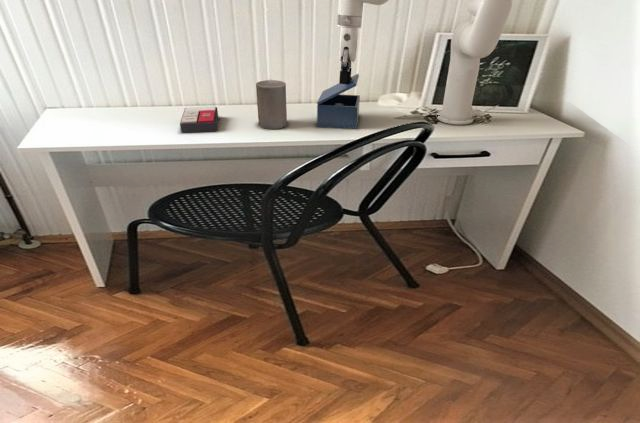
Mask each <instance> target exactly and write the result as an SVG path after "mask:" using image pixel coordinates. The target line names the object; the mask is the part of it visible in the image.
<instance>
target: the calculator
mask: <svg viewBox="0 0 640 423" xmlns="http://www.w3.org/2000/svg"><path fill="white" fill-rule="evenodd" d="M218 121H219V110H218V107H217V106H190V107H188V106H187V107H185V108H184V110H183V112H182V116H181V119H180V123H179V126H180V127H179V128H180V133H181V134H183V133H205V132H207V133H209V132H217V128H218Z"/></svg>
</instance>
